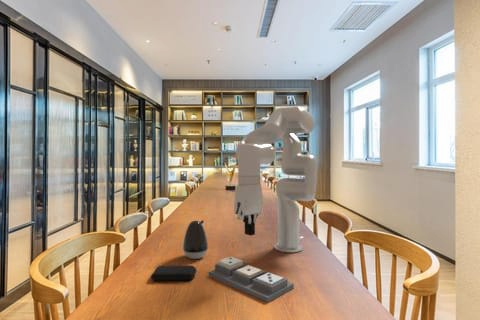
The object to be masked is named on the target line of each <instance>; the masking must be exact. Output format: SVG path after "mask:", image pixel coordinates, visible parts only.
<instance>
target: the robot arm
mask: <svg viewBox="0 0 480 320" xmlns="http://www.w3.org/2000/svg"><path fill="white" fill-rule="evenodd" d="M315 125H316V122H315V118H314V115H312V113H310V112H309V111H308V110H306V109H305V108H303V107H300V106H292V107H291V106H290V107H289V106H288V107H280V108H276V109H274V110H273V111H272V113H271V114H270V116H269V117H268V119H267V120H266V122H265V123H264V124H263V125H262V126H260V127H258V128H256V129H254V130H252V131H250V132H249V133H247V134H246V135H244V137H243V138H242V139H241V140H240V142H239V144H238V146H237V147H236V150H235V158H236V161H237V181H238V182H237V184H236V187H235V192H234V202H233V203H234V204H233V205H234V207H233V209H234V210H233V211H234V214H235V215H237V216H236V217H237V220H239V221H241V220H242V222H243V223H244V234H245V235H247V236H250V237H251V236H254V235H256V226H255V225H256V223H257V218H258V217H259V216H261V214H262V211H263V209H264V199H263V198H264V197H263V188H262V184H261V179H262V178H261V165H269V164H272V163H273V162H274V160H275V159H276V155H277V154H276V153H277V151H276V149H275V147H274V146H273V145H272V144H274V143H277V142H279V141H281V142H282V154H281V155H282V156H281V165H280V167H281V172H282V173H283V175H286V176H296V177H304V178H295V177H294V178H293V177H292V178H291V177H285V178H281V179H279V180H278V181H277V182H276V184H275V193H276V199H277V243H275V244H274V246H273V247H274V249H275V250H276V251H278V252H281V253H299V252H301V251H302V250H303V249H304V247H303V244H301V242H302V241H304V240H305V237H304V236H301V235H300V208H299V207H300V206H299V205H298V204H297V202H296V201H303V202H311V201H313V200H314V199H315V197H316V193H317V180H318V161H317V158H316V156H314V155H312V154H302V147H303V145H302V142H301V140H300V139H299V138H298V136H297V135H296V134H299V135H300V134H311V133H312V132H313V131H314V129H315Z"/></svg>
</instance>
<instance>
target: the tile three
mask: <svg viewBox="0 0 480 320" xmlns="http://www.w3.org/2000/svg"><path fill="white" fill-rule="evenodd" d="M265 273H266V272H265ZM283 278H284V277H283V276H279V275H277V274H274V273H272V272H267V273H266V274H264V275H262V276H260V277H257V280H258V281H260V282H263V283H265V284H268V285H270V286H273V285H275V284H277V283H279V282H281V281H283Z"/></svg>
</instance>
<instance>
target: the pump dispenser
mask: <svg viewBox="0 0 480 320" xmlns="http://www.w3.org/2000/svg"><path fill="white" fill-rule="evenodd" d="M204 223H205V221H204V220H201V221H199V220H192V221H191V222H189V224H188V226H187V227H186V230H185V234H184V237H183V242H182V243H183V244H182V250H183V252H184V255H185V256H186V258H188V259H191V260H199V259H200V260H201V259H202V258H204V257H205V255H206V254H207V252H208V249H209V242H208V238H207V235H206V231H205V228H204V225H203V224H204Z"/></svg>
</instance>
